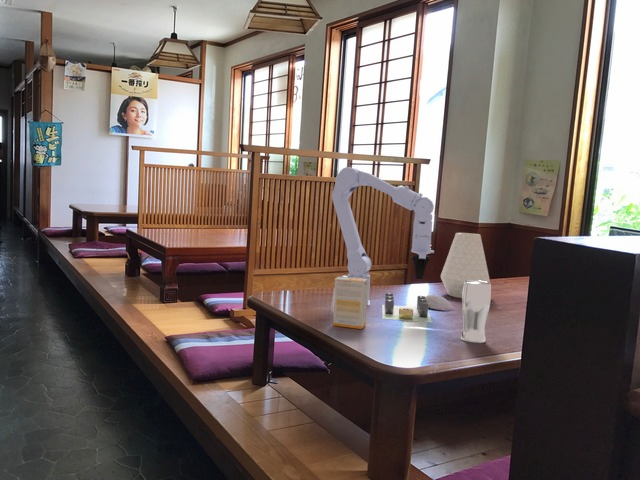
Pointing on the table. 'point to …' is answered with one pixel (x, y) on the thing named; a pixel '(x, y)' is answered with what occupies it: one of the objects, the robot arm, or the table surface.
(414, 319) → the field mat
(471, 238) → the vase
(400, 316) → the brass knob
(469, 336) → the beer glass
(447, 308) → the seashell
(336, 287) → the supplement box
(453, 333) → the table surface
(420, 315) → the spacers
